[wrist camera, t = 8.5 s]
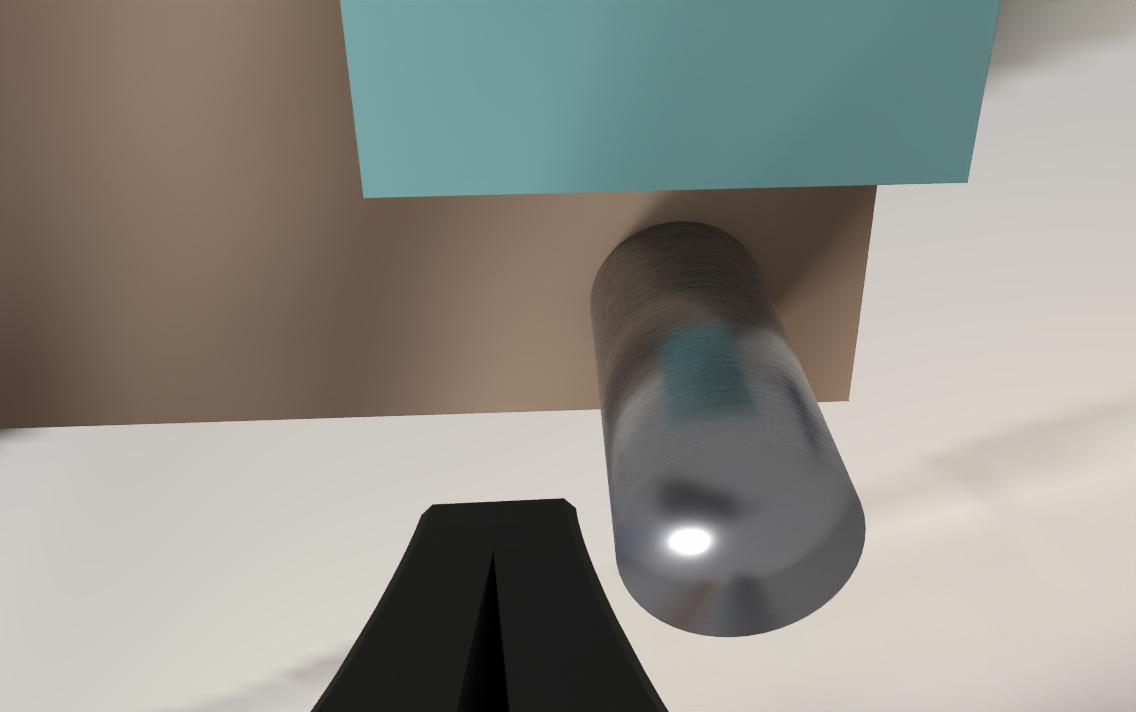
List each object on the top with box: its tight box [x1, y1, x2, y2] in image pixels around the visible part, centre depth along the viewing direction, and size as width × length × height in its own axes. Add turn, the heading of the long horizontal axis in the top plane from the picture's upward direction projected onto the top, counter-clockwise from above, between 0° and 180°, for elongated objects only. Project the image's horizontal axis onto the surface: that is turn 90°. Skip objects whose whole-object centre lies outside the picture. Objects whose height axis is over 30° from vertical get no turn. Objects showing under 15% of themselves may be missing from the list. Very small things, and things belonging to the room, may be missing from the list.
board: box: [0, 0, 877, 429], centre depth 15 cm, size 15×12×1 cm
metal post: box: [590, 221, 866, 637], centre depth 14 cm, size 3×3×6 cm
